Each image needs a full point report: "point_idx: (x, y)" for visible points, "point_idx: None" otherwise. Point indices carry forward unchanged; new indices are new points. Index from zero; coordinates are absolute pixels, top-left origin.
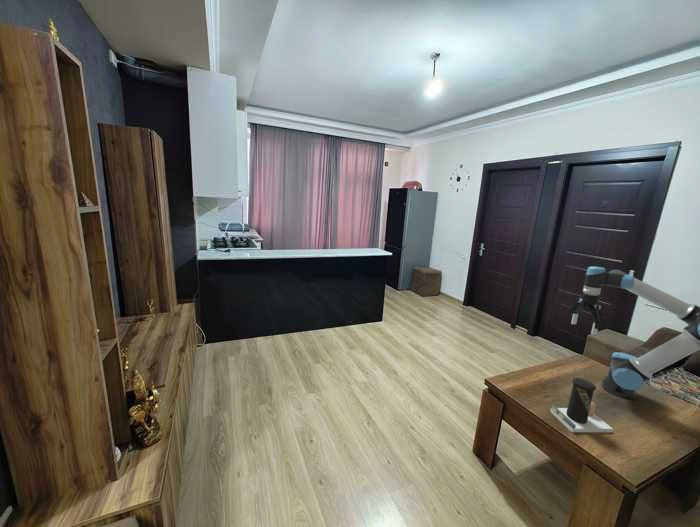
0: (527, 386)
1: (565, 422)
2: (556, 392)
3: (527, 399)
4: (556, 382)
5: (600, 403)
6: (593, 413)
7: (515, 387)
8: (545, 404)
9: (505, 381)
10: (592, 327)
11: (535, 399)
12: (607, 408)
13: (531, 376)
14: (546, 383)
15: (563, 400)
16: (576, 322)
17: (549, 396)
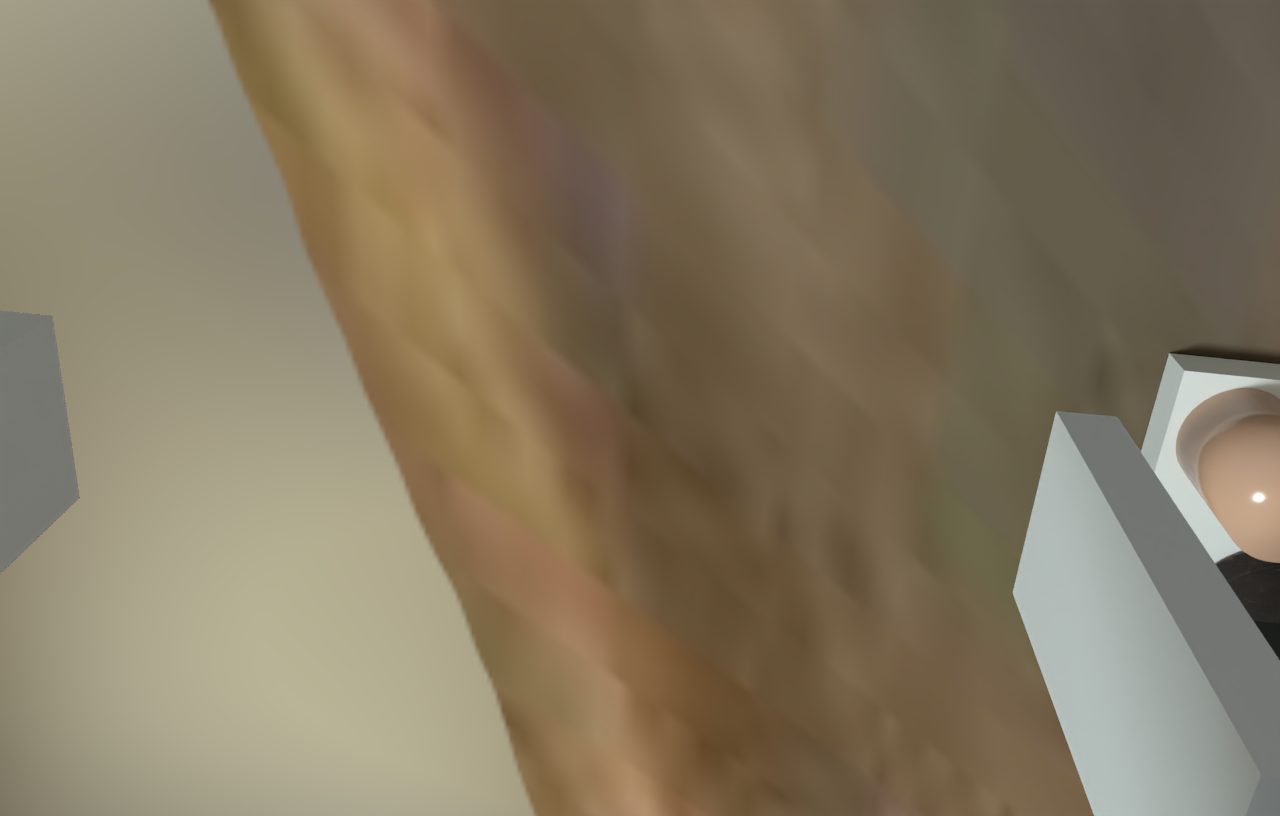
0: (663, 630)
1: None
2: (803, 397)
3: (868, 779)
4: (604, 213)
5: (1095, 4)
6: (1273, 380)
7: (671, 757)
8: (968, 675)
9: (563, 781)
10: (1085, 777)
11: (881, 709)
12: (1197, 9)
13: (465, 439)
14: (619, 369)
15: (948, 441)
16: (6, 362)
17: (859, 536)
